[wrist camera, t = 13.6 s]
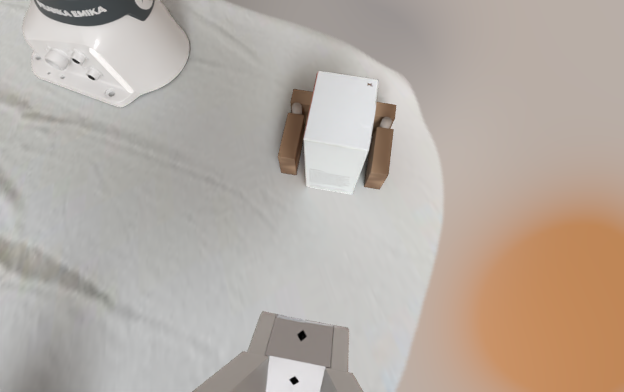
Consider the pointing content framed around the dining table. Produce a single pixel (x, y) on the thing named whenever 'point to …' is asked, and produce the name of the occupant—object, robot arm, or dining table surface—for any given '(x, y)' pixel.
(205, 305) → the dining table surface
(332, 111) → the small box
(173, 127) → the dining table surface
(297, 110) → the brown u-shaped piece
